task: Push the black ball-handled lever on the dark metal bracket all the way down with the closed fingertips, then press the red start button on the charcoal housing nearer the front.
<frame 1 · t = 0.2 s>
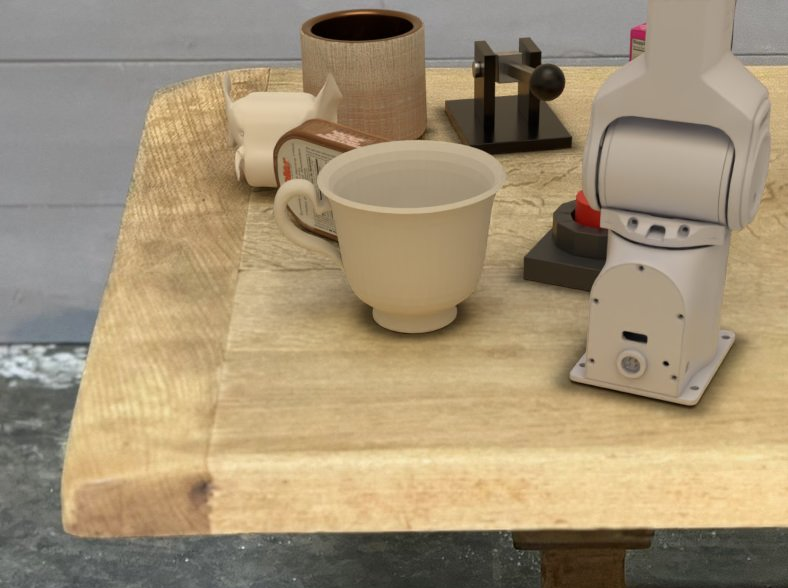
hand: (772, 68, 98), 10 cm above the table, tool pointing down, fingers open, 7 cm apart
tin: (355, 244, 100), on the table
button: (603, 208, 93), point 4 cm above the table, slide at 0.1 cm
teacup: (393, 318, 90), on the table
bracket: (506, 128, 119), on the table
button box: (600, 260, 96), on the table
planter: (366, 136, 119), on the table
lever: (526, 74, 109), point 7 cm above the table, hinge at 12.0°
supplement box: (669, 167, 111), on the table
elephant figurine: (283, 185, 110), on the table
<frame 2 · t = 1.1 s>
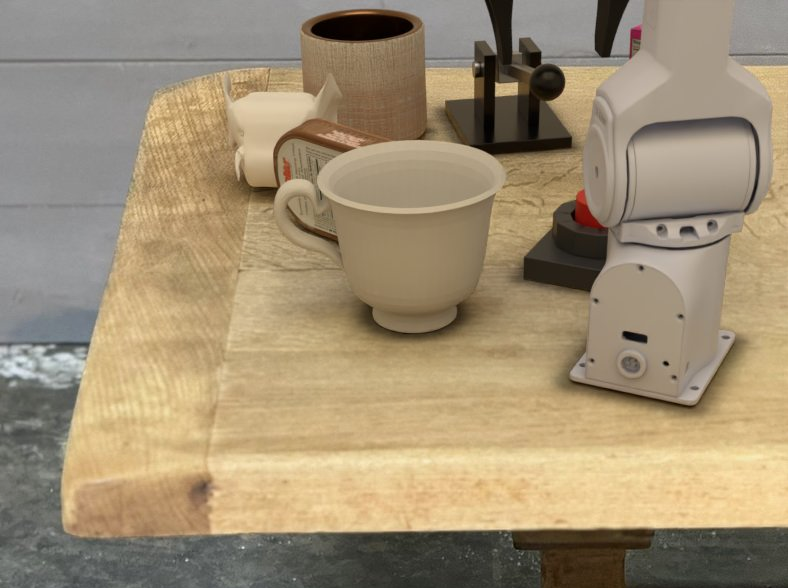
hand: (553, 57, 101), 10 cm above the table, tool pointing down, fingers open, 7 cm apart
nothing on the table moved.
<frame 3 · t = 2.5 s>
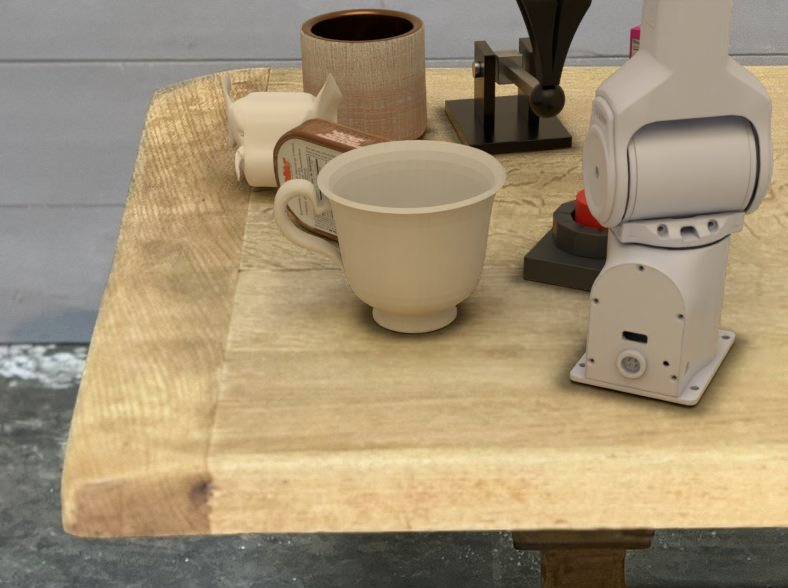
hand: (547, 81, 102), 9 cm above the table, tool pointing down, fingers closed, pressing on lever
lever: (526, 82, 109), point 6 cm above the table, hinge at 6.9°, touching gripper
everything else where it was.
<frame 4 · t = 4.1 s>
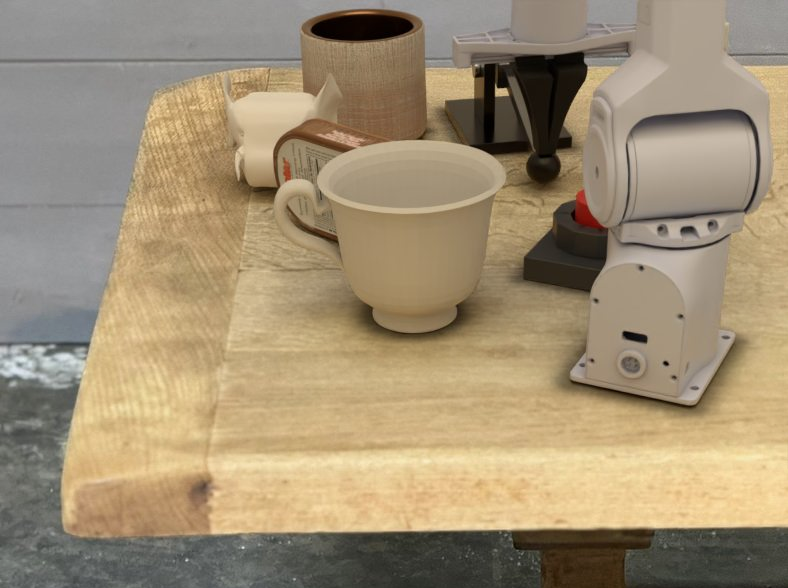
hand: (544, 150, 106), 3 cm above the table, tool pointing down, fingers closed, pressing on lever
lever: (524, 114, 111), point 4 cm above the table, hinge at -15.3°, touching gripper
everything else where it was.
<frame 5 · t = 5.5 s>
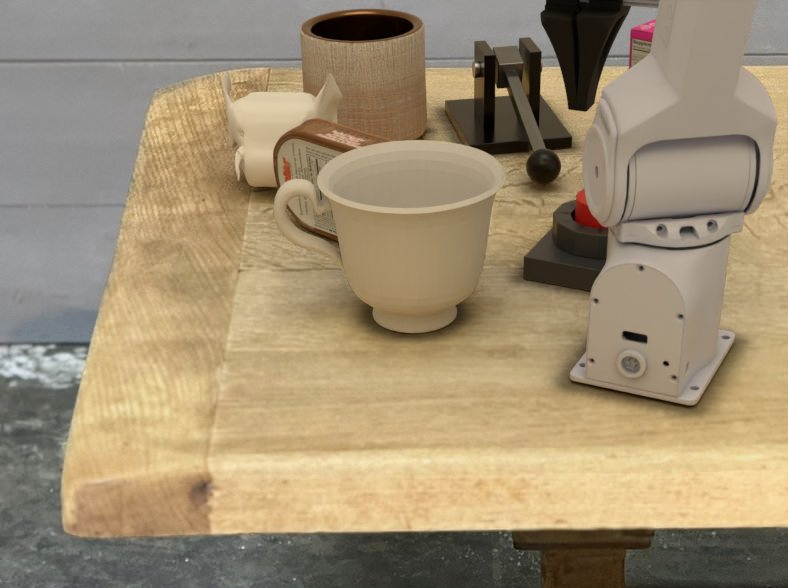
hand: (581, 106, 95), 9 cm above the table, tool pointing down, fingers closed
lever: (524, 114, 111), point 4 cm above the table, hinge at -15.3°
everything else where it was.
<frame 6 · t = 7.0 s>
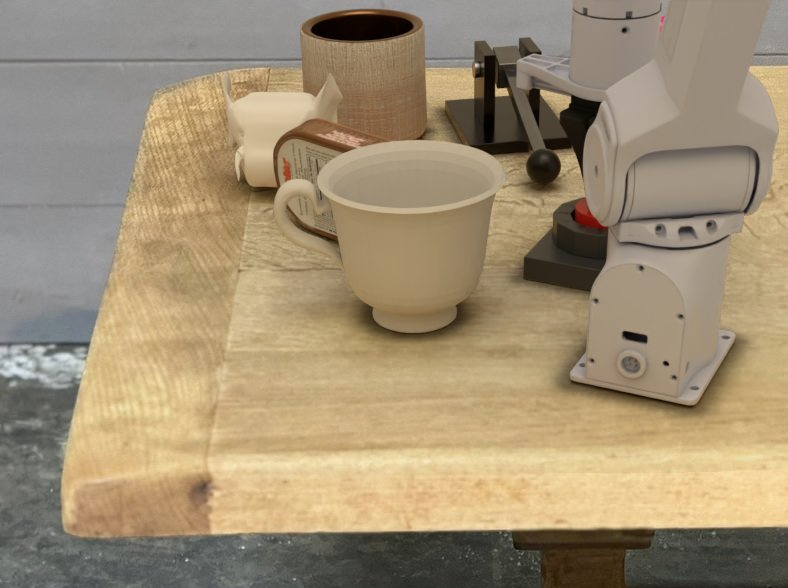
hand: (603, 206, 93), 4 cm above the table, tool pointing down, fingers closed, pressing on button
button: (603, 218, 94), point 3 cm above the table, slide at -0.6 cm, touching gripper
everything else where it was.
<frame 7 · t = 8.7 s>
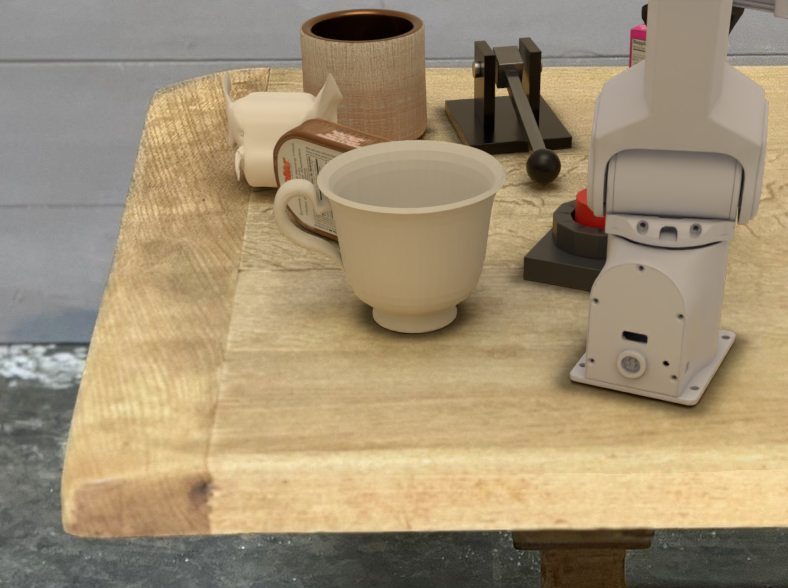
hand: (683, 108, 91), 10 cm above the table, tool pointing down, fingers closed
button: (603, 208, 93), point 4 cm above the table, slide at 0.1 cm
everything else where it was.
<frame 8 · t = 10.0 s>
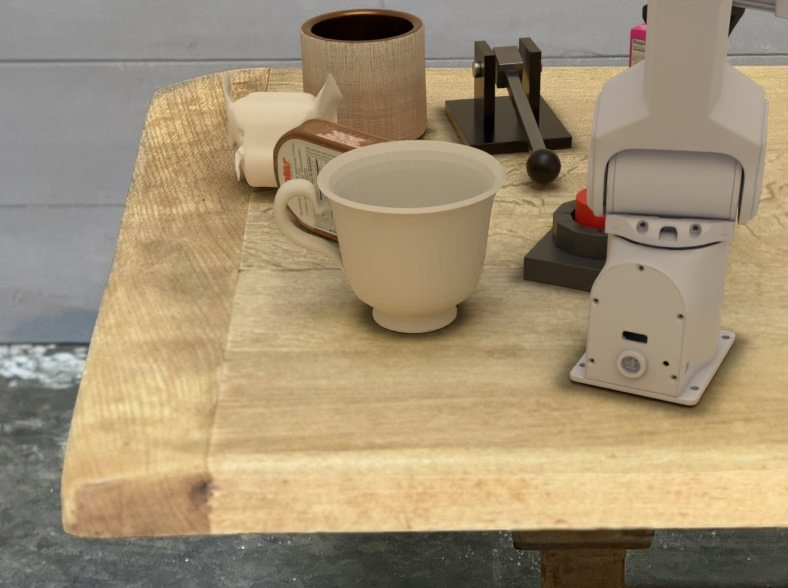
hand: (684, 108, 91), 10 cm above the table, tool pointing down, fingers closed
nothing on the table moved.
at the end: lever at -15° (first picture: +12°); button pushed in 1.2 cm at the most during the clip, back to where it started at the end; button slide at 0.1 cm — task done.
